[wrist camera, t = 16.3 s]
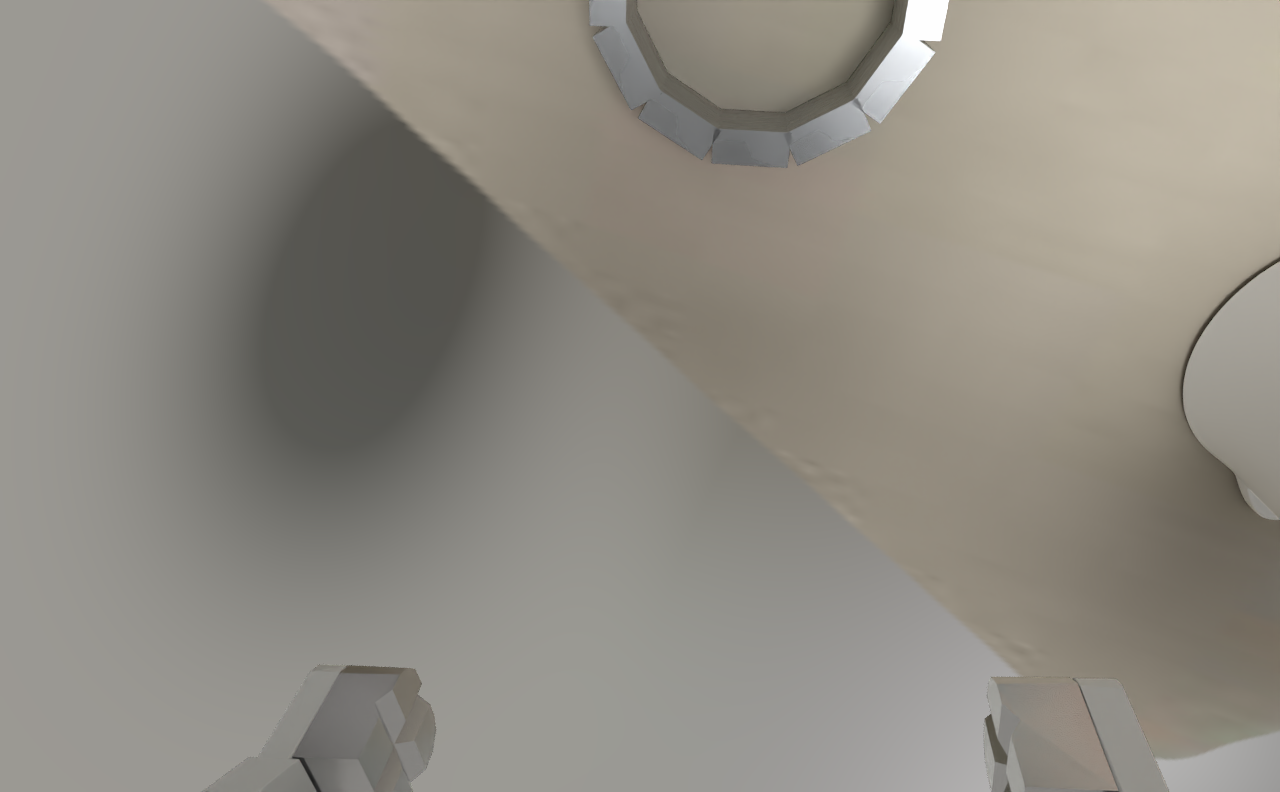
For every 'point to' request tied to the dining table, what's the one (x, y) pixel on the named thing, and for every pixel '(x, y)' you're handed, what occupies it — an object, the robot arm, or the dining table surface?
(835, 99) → the collar
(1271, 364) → the robot arm
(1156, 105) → the dining table surface
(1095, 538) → the dining table surface
